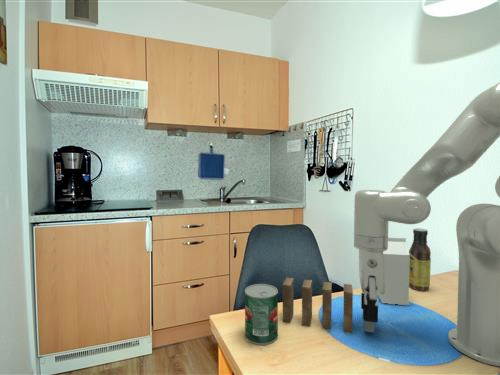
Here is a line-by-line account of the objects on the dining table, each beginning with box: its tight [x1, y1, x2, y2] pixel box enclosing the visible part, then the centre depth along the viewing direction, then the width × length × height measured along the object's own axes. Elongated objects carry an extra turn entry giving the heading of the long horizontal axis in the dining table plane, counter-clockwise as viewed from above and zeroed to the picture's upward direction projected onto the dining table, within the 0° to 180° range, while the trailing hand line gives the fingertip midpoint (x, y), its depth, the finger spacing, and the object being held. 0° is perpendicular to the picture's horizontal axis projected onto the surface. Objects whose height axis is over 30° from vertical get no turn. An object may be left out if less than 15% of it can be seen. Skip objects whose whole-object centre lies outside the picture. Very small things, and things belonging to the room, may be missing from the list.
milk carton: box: [377, 237, 410, 306], centre depth 84 cm, size 7×7×19 cm
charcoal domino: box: [363, 288, 375, 333], centre depth 68 cm, size 2×5×10 cm, turn 161°
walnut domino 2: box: [301, 279, 313, 327], centre depth 72 cm, size 2×5×10 cm, turn 162°
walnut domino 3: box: [321, 281, 333, 331], centre depth 71 cm, size 2×5×10 cm, turn 162°
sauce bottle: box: [408, 227, 432, 292], centre depth 92 cm, size 7×6×20 cm
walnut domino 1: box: [282, 277, 295, 324], centre depth 74 cm, size 2×5×10 cm, turn 162°
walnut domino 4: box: [342, 283, 354, 334], centre depth 69 cm, size 2×5×10 cm, turn 162°
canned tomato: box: [244, 283, 279, 346], centre depth 66 cm, size 8×8×11 cm
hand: (369, 314), depth 68 cm, fingers closed on charcoal domino, 4 cm apart
